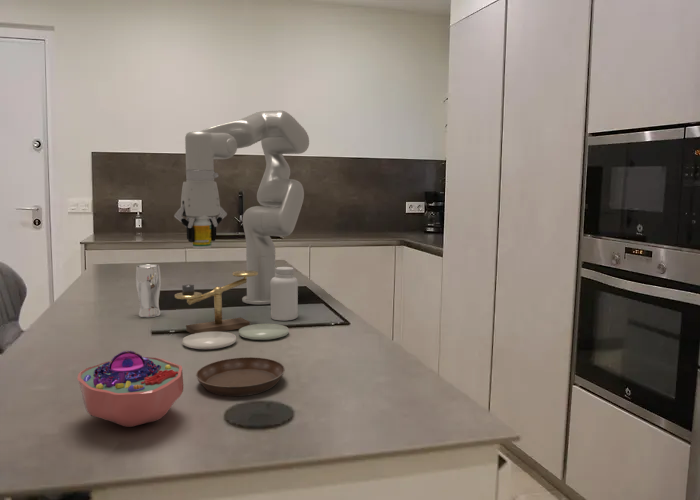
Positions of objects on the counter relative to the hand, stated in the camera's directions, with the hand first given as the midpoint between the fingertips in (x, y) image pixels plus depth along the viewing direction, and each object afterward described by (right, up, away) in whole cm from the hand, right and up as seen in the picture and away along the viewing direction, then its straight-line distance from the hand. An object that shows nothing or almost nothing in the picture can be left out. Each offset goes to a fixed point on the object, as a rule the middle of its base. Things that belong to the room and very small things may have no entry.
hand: (201, 240), depth 170 cm
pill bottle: (+23, -23, +7) cm, 33 cm away
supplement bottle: (0, -2, 0) cm, 2 cm away
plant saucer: (+20, -30, -48) cm, 60 cm away
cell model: (+4, -32, -66) cm, 73 cm away
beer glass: (-18, -22, +9) cm, 30 cm away
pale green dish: (+19, -25, -11) cm, 34 cm away
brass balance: (+6, -24, -5) cm, 26 cm away
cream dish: (+7, -26, -20) cm, 34 cm away
